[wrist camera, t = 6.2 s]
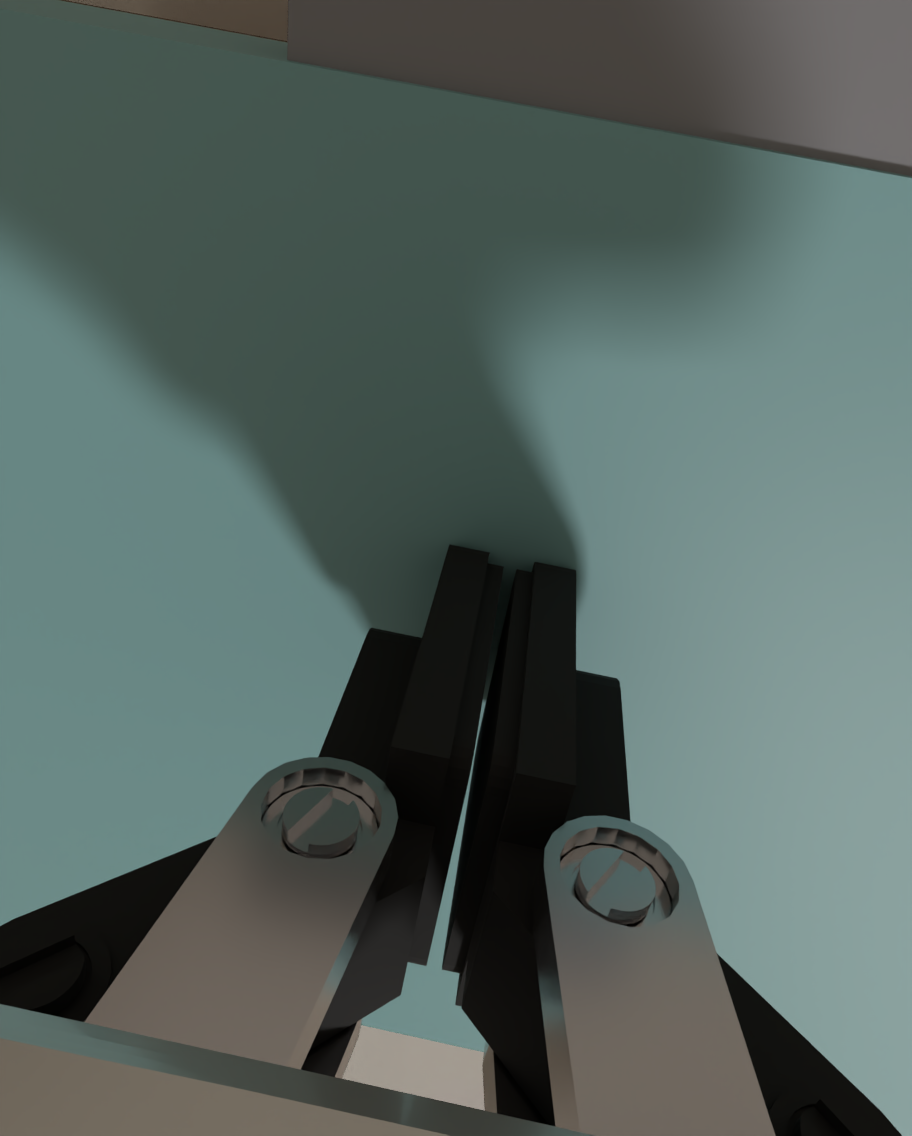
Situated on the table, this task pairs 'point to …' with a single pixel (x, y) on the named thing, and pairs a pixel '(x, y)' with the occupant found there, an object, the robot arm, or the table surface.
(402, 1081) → the table surface
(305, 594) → the lid
